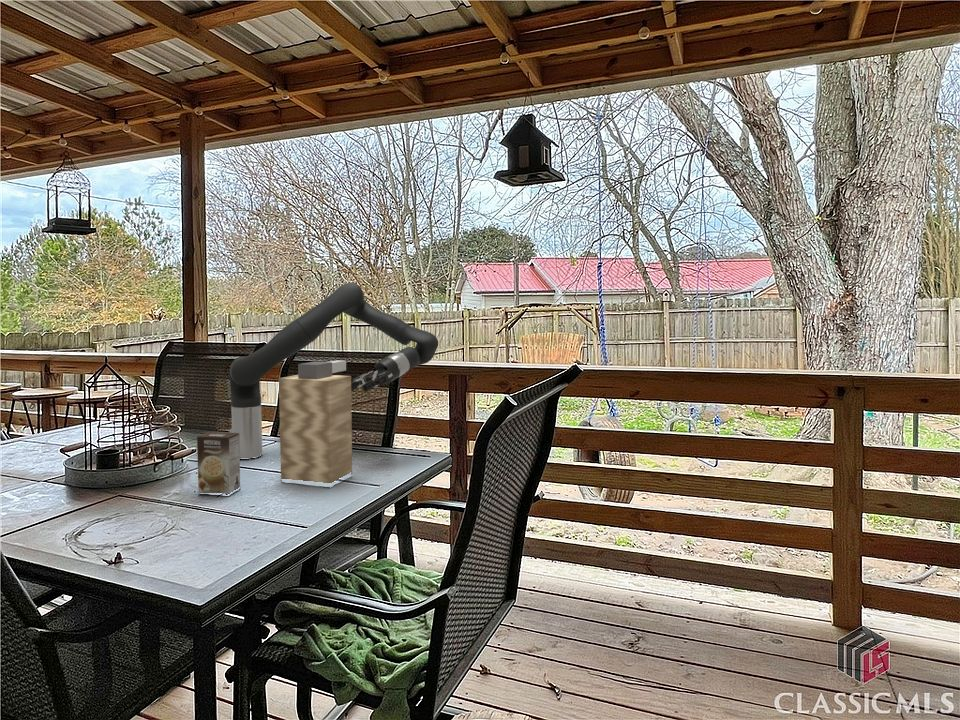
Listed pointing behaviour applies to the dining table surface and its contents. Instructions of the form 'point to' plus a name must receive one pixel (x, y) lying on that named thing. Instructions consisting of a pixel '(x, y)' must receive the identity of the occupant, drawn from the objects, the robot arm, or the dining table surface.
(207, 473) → the coffee box
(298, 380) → the pedestal
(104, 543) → the dining table surface
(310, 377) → the block
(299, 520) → the dining table surface
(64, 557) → the dining table surface
